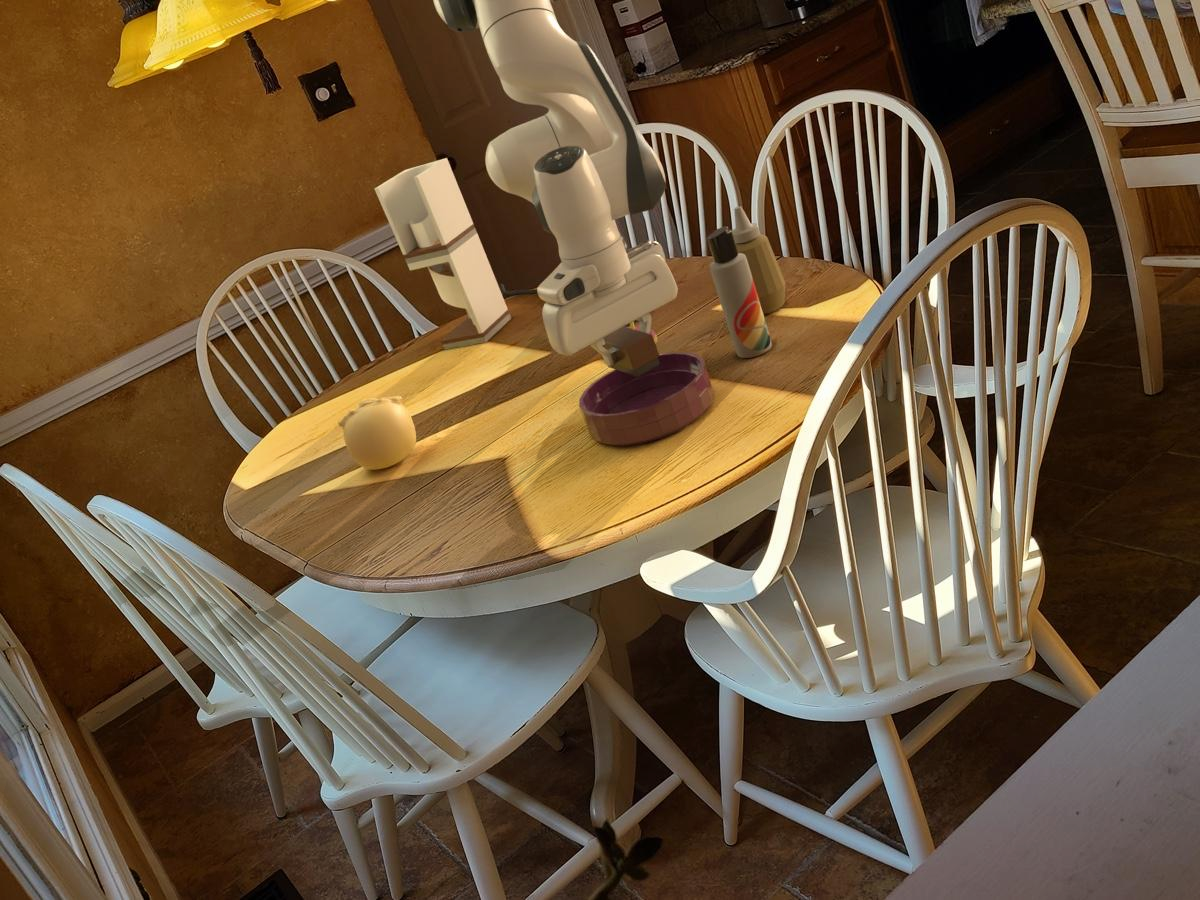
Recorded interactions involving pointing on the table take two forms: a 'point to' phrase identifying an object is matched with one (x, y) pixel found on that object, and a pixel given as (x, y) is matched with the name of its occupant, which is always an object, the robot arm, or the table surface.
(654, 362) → the dark chocolate square
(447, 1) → the robot arm
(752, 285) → the lotion bottle
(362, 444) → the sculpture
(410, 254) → the cream shelf stand
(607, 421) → the bowl
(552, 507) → the table surface
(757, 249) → the squeeze bottle
